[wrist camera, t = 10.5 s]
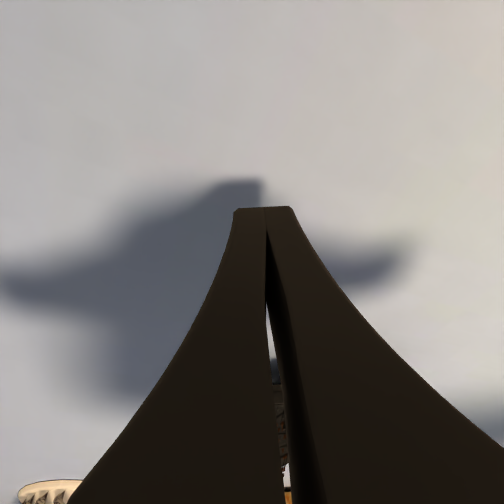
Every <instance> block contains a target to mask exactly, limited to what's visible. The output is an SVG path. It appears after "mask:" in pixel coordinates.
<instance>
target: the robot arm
mask: <svg viewBox="0 0 504 504" xmlns="http://www.w3.org/2000/svg"><path fill="white" fill-rule="evenodd" d="M266 302H267V308H268V313H269V319H270V325H271V330H272V336H273V341H274V347H275V352H276V358H277V363H278V369H279V374H280V380H281V387H282V394H283V403H284V414H285V425H286V437H287V448H288V460H289V472H290V484H291V497H292V504H504V448H503V447H502V446H500V445H499V444H498V443H497V442H495V441H494V440H493V439H492V438H490V437H489V436H488V435H487V434H486V433H484V432H483V431H482V430H481V429H479V428H478V427H477V426H476V425H475V424H473V423H472V422H471V421H470V420H469V419H467V418H466V417H465V416H464V415H463V414H462V413H461V412H459V411H458V410H457V409H456V408H455V407H454V406H452V405H451V404H450V403H449V402H448V401H447V400H445V399H444V398H443V397H442V396H441V395H440V394H439V393H438V392H437V391H436V390H435V389H433V388H432V387H431V386H430V385H429V384H428V383H427V382H426V381H425V380H424V379H423V378H422V377H421V376H420V375H419V374H418V373H417V372H416V371H414V370H413V369H412V368H411V367H410V366H409V365H408V364H407V363H406V362H405V361H404V360H403V359H402V358H401V357H400V356H399V355H398V354H397V353H396V352H395V351H394V350H393V349H392V348H391V347H390V346H389V345H388V344H387V343H386V341H385V340H384V339H383V338H382V337H381V336H380V335H379V334H378V333H377V332H376V331H375V329H374V328H373V327H372V326H371V325H370V324H369V323H368V322H367V320H366V319H365V318H364V317H363V316H362V315H361V313H360V312H359V311H358V310H357V309H356V307H355V306H354V305H353V304H352V302H351V301H350V300H349V299H348V297H347V296H346V295H345V293H344V292H343V291H342V289H341V288H340V287H339V285H338V284H337V283H336V281H335V280H334V279H333V277H332V276H331V274H330V273H329V271H328V270H327V268H326V267H325V265H324V264H323V262H322V261H321V259H320V258H319V256H318V255H317V253H316V252H315V250H314V249H313V247H312V245H311V244H310V242H309V240H308V238H307V237H306V235H305V233H304V231H303V230H302V228H301V226H300V224H299V222H298V220H297V218H296V216H295V214H294V211H293V209H292V208H290V207H289V206H277V207H256V208H238V209H237V210H236V211H235V212H234V213H233V222H232V227H231V231H230V235H229V239H228V242H227V245H226V249H225V252H224V254H223V257H222V260H221V262H220V265H219V268H218V271H217V273H216V276H215V278H214V280H213V283H212V285H211V287H210V289H209V291H208V294H207V296H206V298H205V300H204V302H203V305H202V307H201V309H200V311H199V313H198V315H197V317H196V319H195V320H194V322H193V324H192V326H191V328H190V330H189V331H188V333H187V335H186V337H185V339H184V340H183V342H182V344H181V346H180V347H179V349H178V351H177V352H176V354H175V355H174V357H173V359H172V360H171V362H170V363H169V365H168V367H167V368H166V370H165V372H164V373H163V375H162V376H161V378H160V379H159V381H158V382H157V384H156V385H155V387H154V388H153V390H152V391H151V392H150V394H149V395H148V397H147V398H146V399H145V401H144V402H143V404H142V405H141V406H140V408H139V409H138V410H137V412H136V413H135V415H134V416H133V417H132V419H131V420H130V422H129V423H128V424H127V426H126V427H125V429H124V430H123V431H122V432H121V434H120V435H119V436H118V438H117V439H116V440H115V442H114V443H113V444H112V445H111V447H110V448H109V449H108V450H107V451H106V453H105V454H104V455H103V456H102V458H101V459H100V460H99V461H98V463H97V464H96V465H95V466H94V467H93V469H92V470H91V471H90V472H89V474H88V475H87V476H86V477H85V479H84V480H83V481H82V482H81V483H80V485H79V486H78V487H77V488H76V490H75V491H74V492H73V493H72V495H71V496H70V498H69V499H68V502H67V504H286V500H285V491H284V483H283V475H282V466H281V458H280V449H279V441H278V432H277V423H276V414H275V405H274V396H273V387H272V377H271V368H270V358H269V349H268V338H267V328H266Z"/></svg>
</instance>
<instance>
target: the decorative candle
mask: <svg viewBox="0 0 504 504" xmlns="http://www.w3.org/2000/svg"><path fill="white" fill-rule="evenodd" d="M81 482H82V481H78V480H56V481H46V482H38V483H35V484H31V485H27V486H25V487H24V488H22V489H21V490H20V491H19V494H18V498H19V500H20V502H21V503H22V504H67V502H68V499H69V498H70V496H71V495H72V493H73V492H74V491H75V490H76V488H77V487H78V486H79V485H80V483H81Z"/></svg>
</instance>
